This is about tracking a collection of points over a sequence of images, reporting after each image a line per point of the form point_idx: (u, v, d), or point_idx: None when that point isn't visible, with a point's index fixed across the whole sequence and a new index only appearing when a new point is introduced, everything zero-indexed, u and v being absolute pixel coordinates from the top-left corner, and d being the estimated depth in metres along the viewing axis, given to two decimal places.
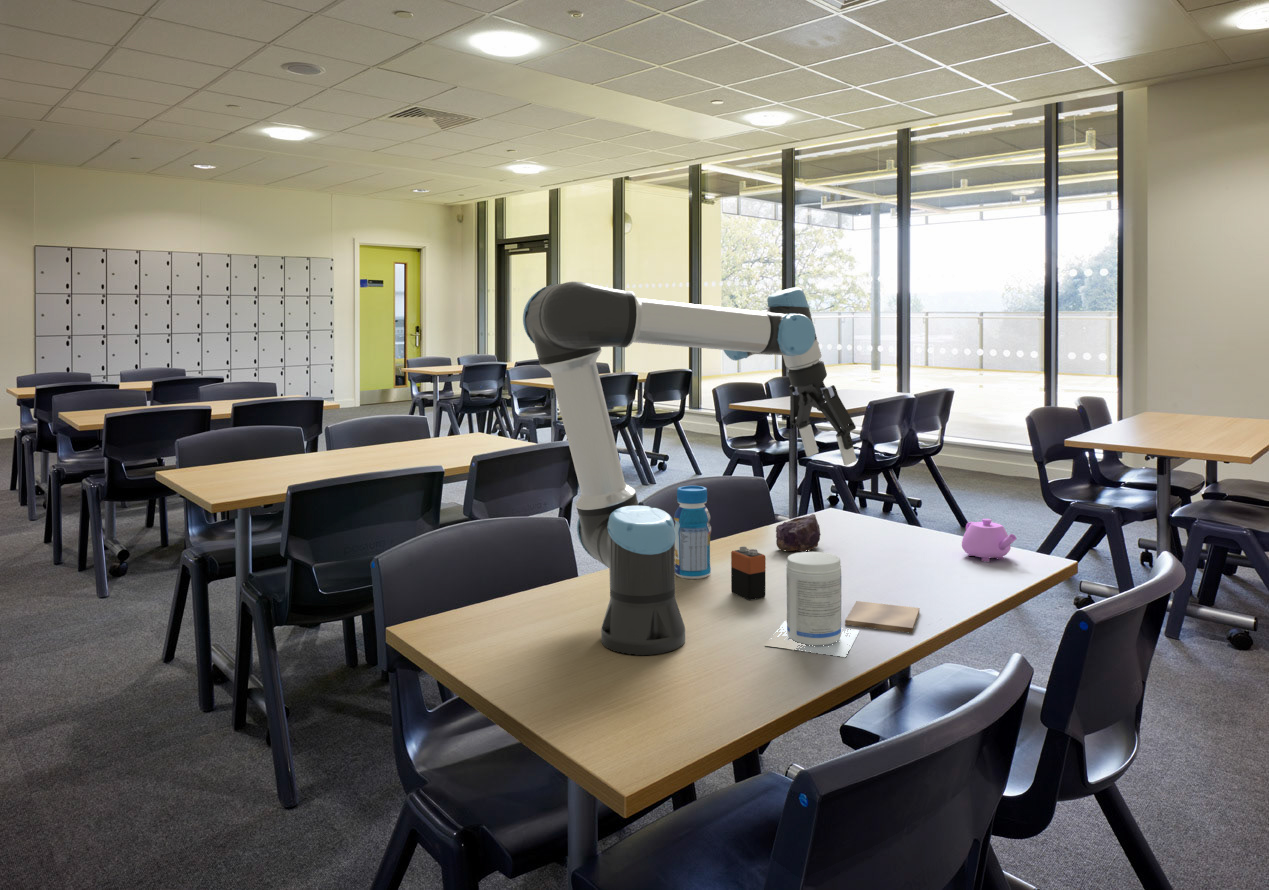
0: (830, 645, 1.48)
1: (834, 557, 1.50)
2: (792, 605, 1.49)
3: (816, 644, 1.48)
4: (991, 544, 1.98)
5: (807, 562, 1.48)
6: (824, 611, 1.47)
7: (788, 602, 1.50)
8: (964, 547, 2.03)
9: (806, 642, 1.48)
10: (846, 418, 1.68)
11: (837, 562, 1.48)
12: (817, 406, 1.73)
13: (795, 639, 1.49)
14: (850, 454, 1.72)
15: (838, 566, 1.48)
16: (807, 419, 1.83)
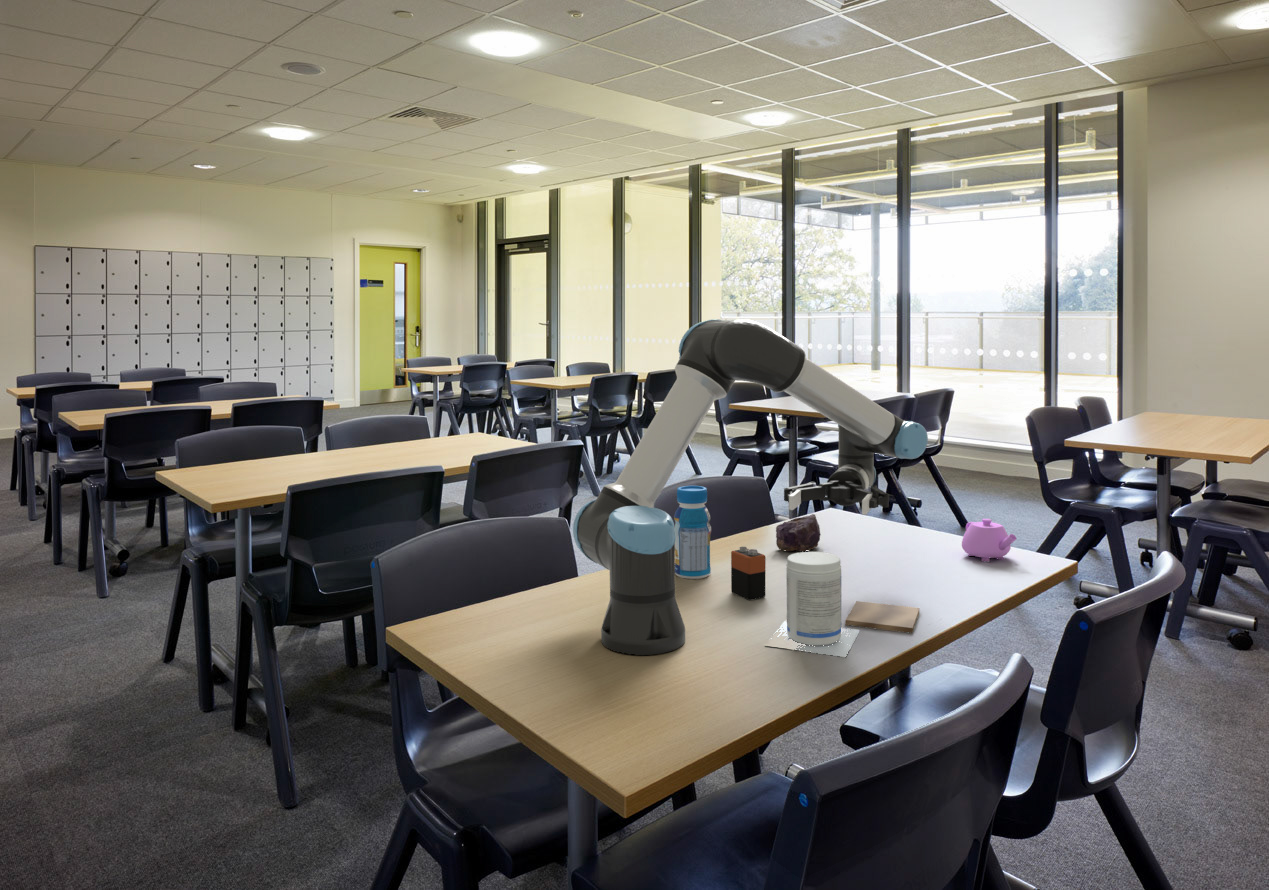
0: (830, 645, 1.48)
1: (834, 557, 1.50)
2: (792, 605, 1.49)
3: (816, 644, 1.48)
4: (991, 544, 1.98)
5: (807, 562, 1.48)
6: (824, 611, 1.47)
7: (788, 602, 1.50)
8: (964, 547, 2.03)
9: (806, 642, 1.48)
10: None
11: (837, 562, 1.48)
12: (856, 485, 1.69)
13: (795, 639, 1.49)
14: (867, 507, 1.58)
15: (838, 566, 1.48)
16: (803, 499, 1.69)
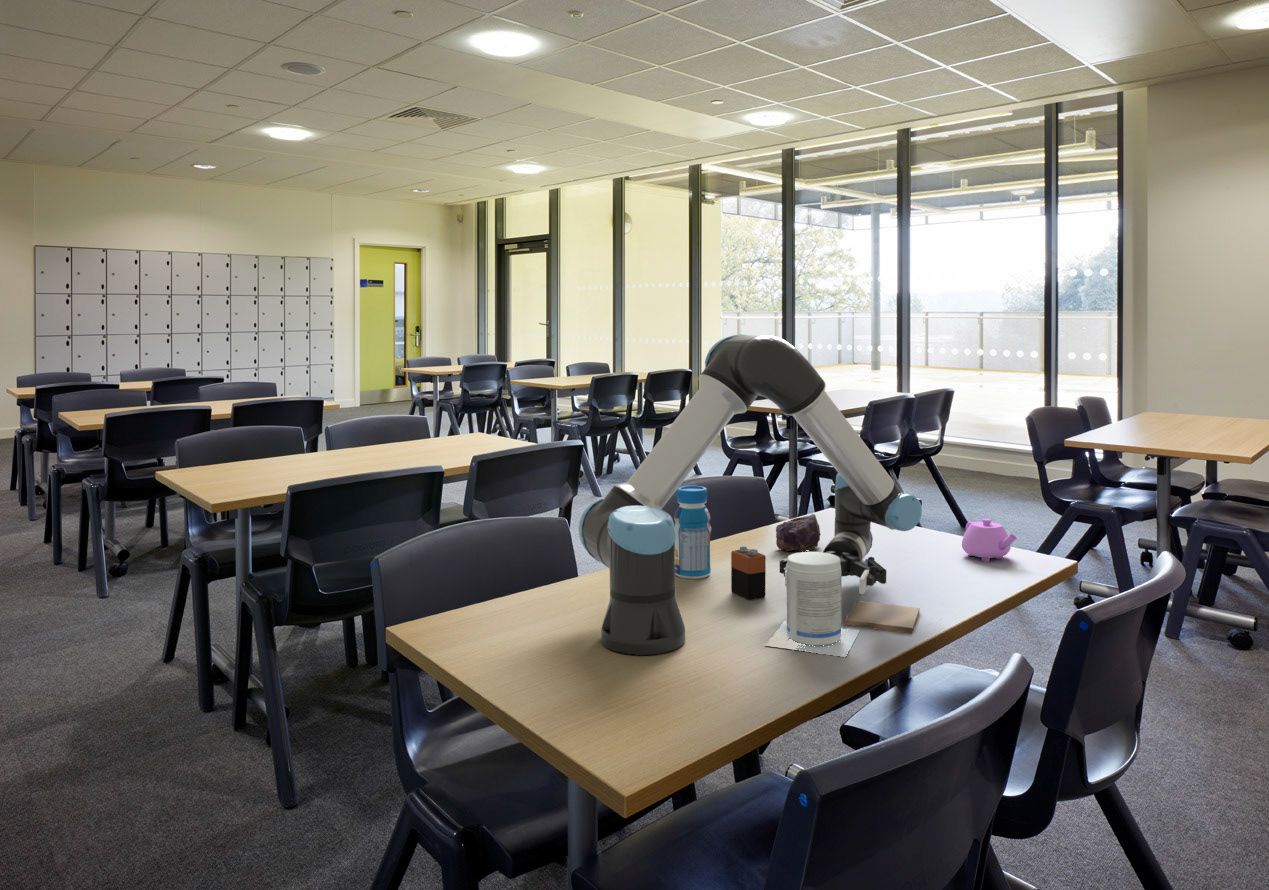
0: (830, 645, 1.48)
1: (834, 557, 1.50)
2: (792, 605, 1.49)
3: (816, 644, 1.48)
4: (991, 544, 1.98)
5: (807, 562, 1.48)
6: (824, 611, 1.47)
7: (788, 602, 1.50)
8: (964, 547, 2.03)
9: (806, 642, 1.48)
10: None
11: (837, 562, 1.48)
12: (853, 558, 1.66)
13: (795, 639, 1.49)
14: (865, 585, 1.54)
15: (838, 566, 1.48)
16: None
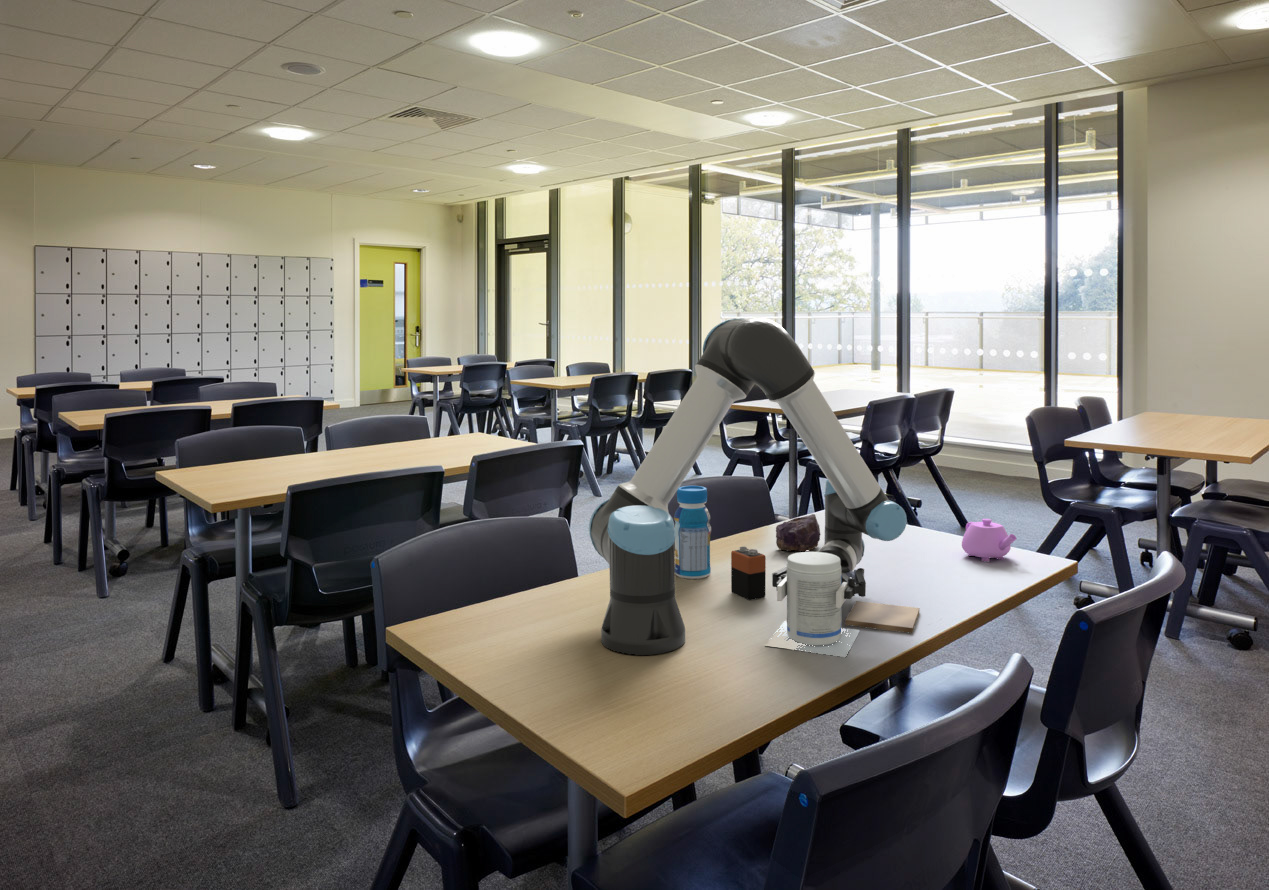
0: (830, 645, 1.48)
1: (834, 557, 1.50)
2: (792, 605, 1.49)
3: (816, 644, 1.48)
4: (991, 544, 1.98)
5: (807, 562, 1.48)
6: (824, 611, 1.47)
7: (788, 602, 1.50)
8: (964, 547, 2.03)
9: (806, 642, 1.48)
10: None
11: (837, 562, 1.48)
12: None
13: (795, 639, 1.49)
14: (842, 598, 1.46)
15: (838, 566, 1.48)
16: None
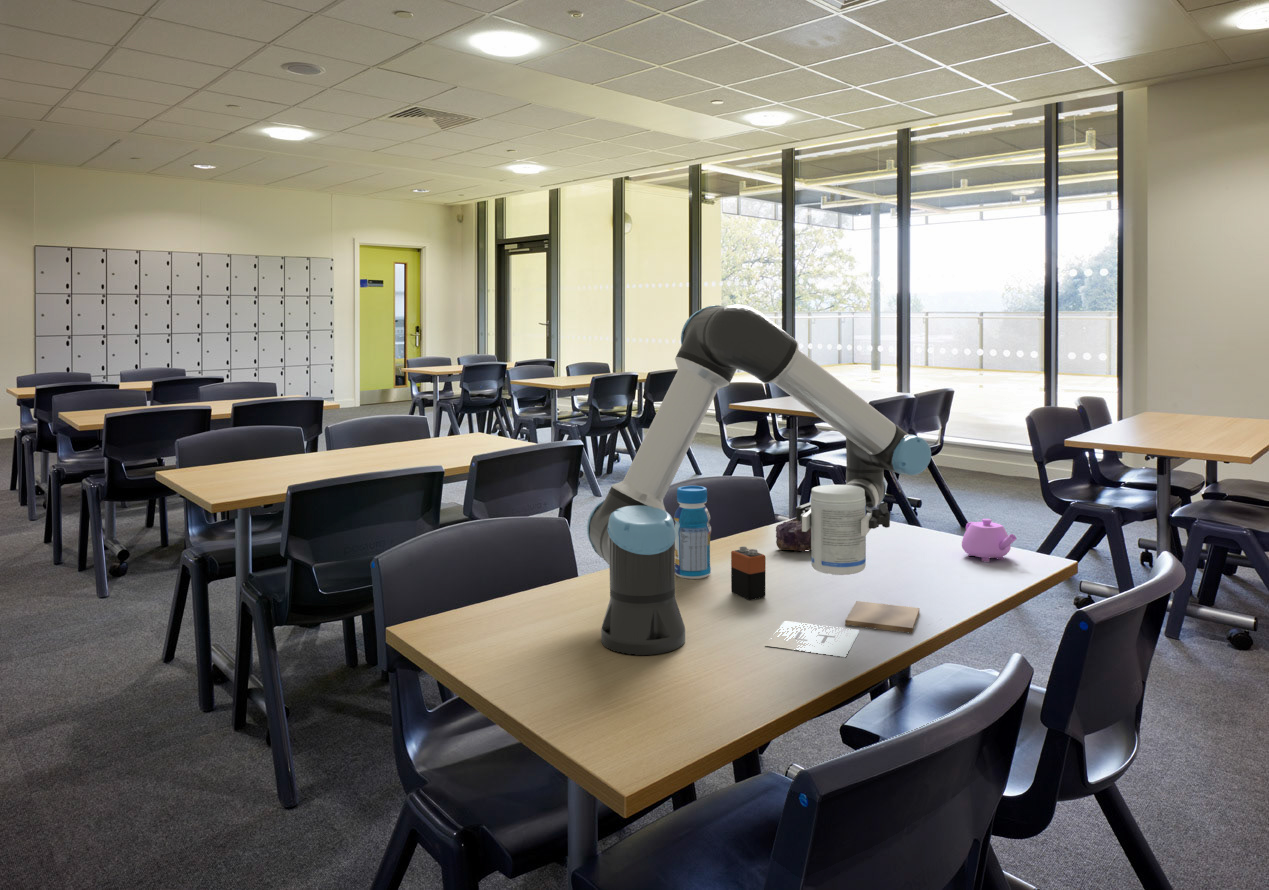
0: (830, 645, 1.48)
1: (858, 488, 1.51)
2: (817, 535, 1.50)
3: (841, 573, 1.48)
4: (991, 544, 1.98)
5: (832, 491, 1.49)
6: (849, 540, 1.47)
7: (813, 533, 1.51)
8: (964, 547, 2.03)
9: (831, 571, 1.49)
10: None
11: (862, 492, 1.48)
12: None
13: (820, 569, 1.50)
14: (867, 527, 1.47)
15: (863, 496, 1.49)
16: None
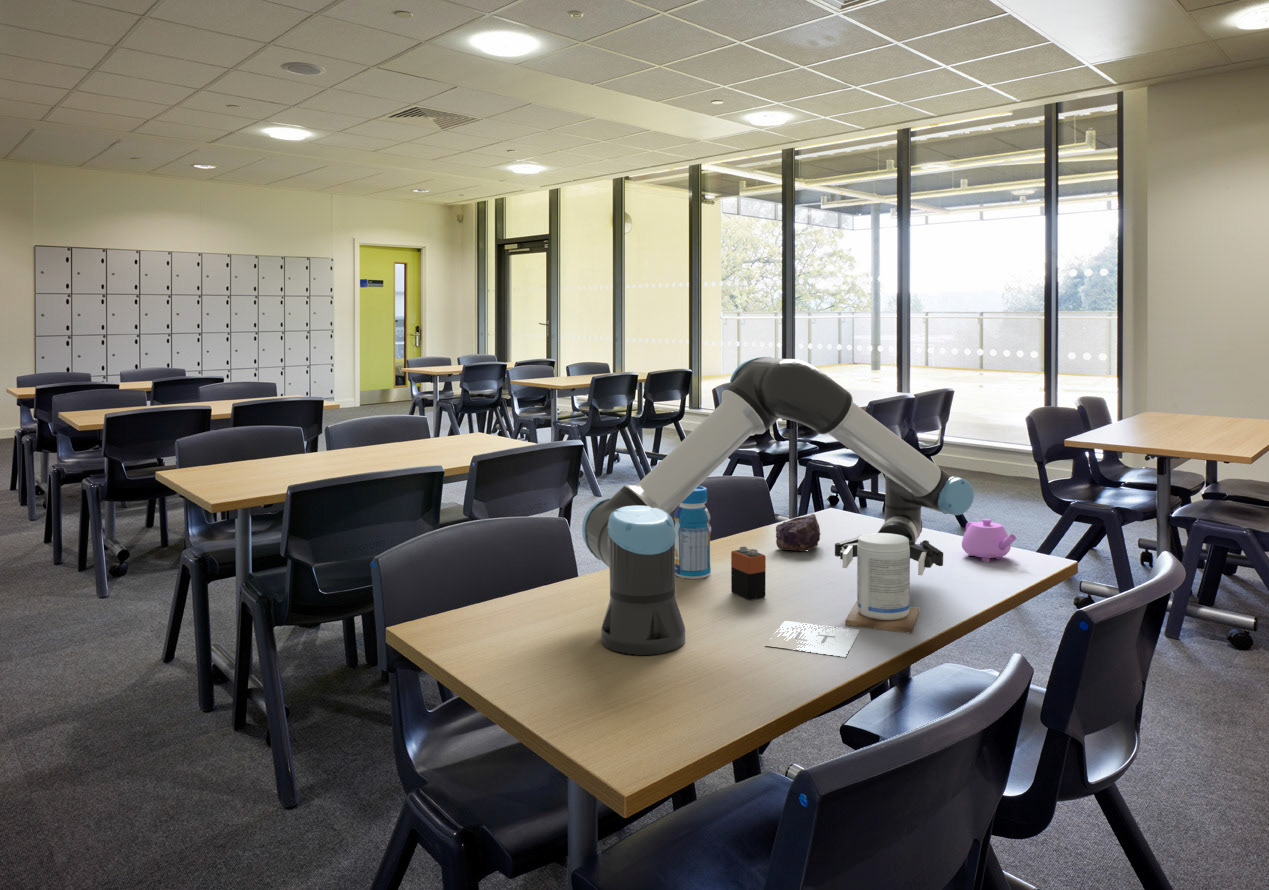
0: (830, 645, 1.48)
1: (903, 537, 1.60)
2: (864, 582, 1.59)
3: (887, 619, 1.57)
4: (991, 544, 1.98)
5: (878, 541, 1.57)
6: (895, 588, 1.56)
7: (859, 580, 1.60)
8: (964, 547, 2.03)
9: (877, 617, 1.57)
10: None
11: (907, 542, 1.57)
12: None
13: (866, 614, 1.59)
14: (923, 567, 1.56)
15: (907, 545, 1.57)
16: (854, 555, 1.67)
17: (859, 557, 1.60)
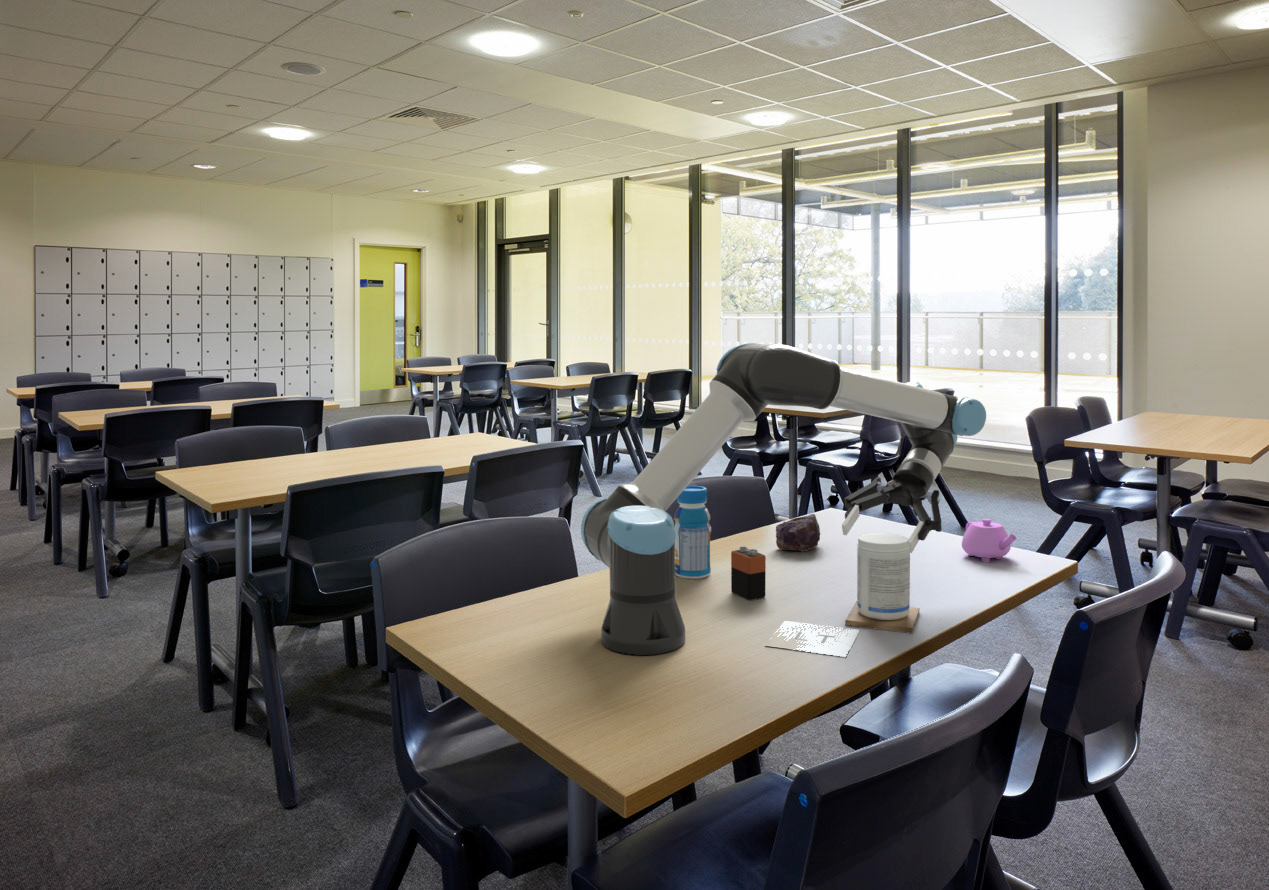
0: (830, 645, 1.48)
1: (903, 537, 1.60)
2: (864, 582, 1.59)
3: (887, 619, 1.57)
4: (991, 544, 1.98)
5: (879, 541, 1.57)
6: (895, 588, 1.56)
7: (859, 580, 1.60)
8: (964, 547, 2.03)
9: (877, 617, 1.57)
10: None
11: (907, 542, 1.57)
12: (915, 496, 1.73)
13: (866, 614, 1.59)
14: (914, 542, 1.66)
15: (907, 545, 1.57)
16: (863, 509, 1.77)
17: (859, 557, 1.60)
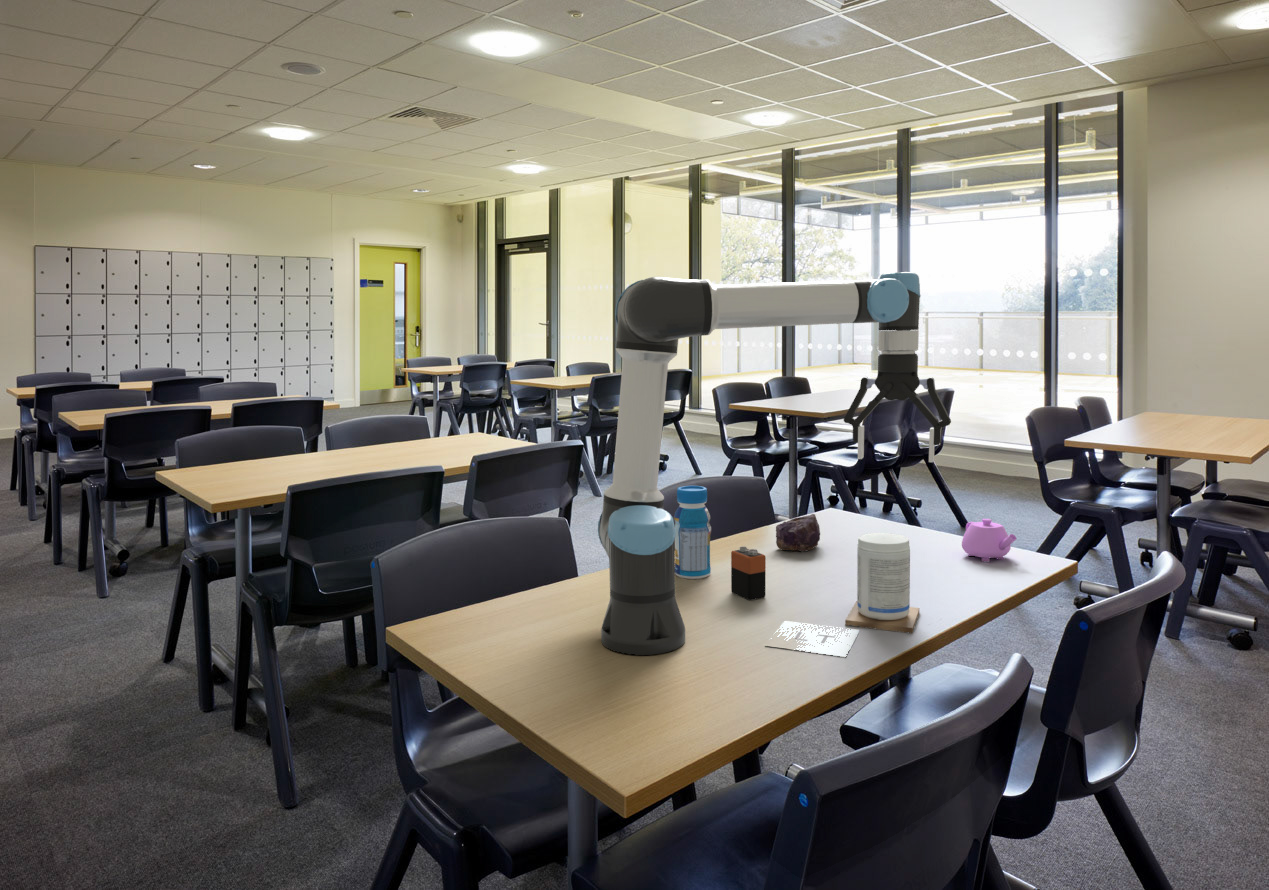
0: (830, 645, 1.48)
1: (903, 537, 1.60)
2: (864, 582, 1.59)
3: (887, 619, 1.57)
4: (991, 544, 1.98)
5: (879, 541, 1.57)
6: (895, 588, 1.56)
7: (859, 580, 1.60)
8: (964, 547, 2.03)
9: (877, 617, 1.57)
10: (946, 411, 1.65)
11: (907, 542, 1.57)
12: (912, 397, 1.65)
13: (867, 614, 1.59)
14: (933, 452, 1.67)
15: (908, 545, 1.57)
16: None
17: (859, 557, 1.60)
